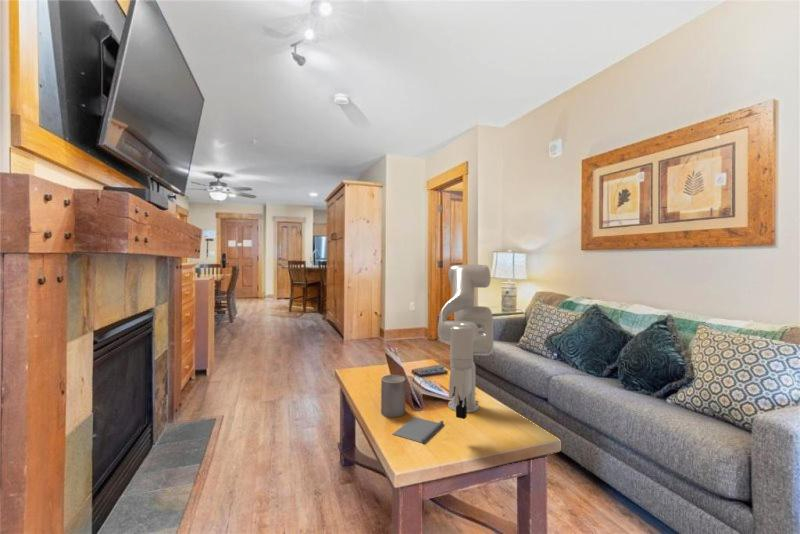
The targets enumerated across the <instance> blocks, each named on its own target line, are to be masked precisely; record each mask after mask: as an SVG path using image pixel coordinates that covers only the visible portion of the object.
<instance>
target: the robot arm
mask: <svg viewBox="0 0 800 534" xmlns="http://www.w3.org/2000/svg"><path fill="white" fill-rule="evenodd" d="M448 280H449V283H450V284H449V285H450V287H451V290H452V293H451V298H450V299H449V300H447V302H445V304H444V305H443V306H442V307H441V310H440V312H439V315H438V324H437V325H438V327H437V335H438V337H439V340H440V341H442V342H445V343H449V344H450V346H449V347H450V348H449V350H450V352H449V360H450V361H449V362H450V363H449V368H450V371H449V372H450V373H449V383H448V385H449V386H448V398H449V399H451V400H452V401H451V400H450V401H448V408H449V409H450V410H451V411H454V412H455V417H456V418H457V419H458V418H459V419H461V420H462V419H463V420H465V419H467V417H468V415H467V414H468V413H475V412H477V411H478V410H480V404H479V403H478V402H476V395H477V393H476V363H475V362H474V356H490V355H491V354H492V353H493V351H494V322H493V321H494V320H493V312H492V310H491V308H489V307H487V306H480V305H479V306H478V305H475V299H476V298H475V297H476V296H475V288H489V287H490V283H491V271H490V268H489V266H488V265H487V264H455V265H452V266H451V267H449V269H448ZM452 314H454V316H453V318H454V319H453V320H448V318H449V317H450V316H451V315H452ZM480 330H481V331H480Z"/></svg>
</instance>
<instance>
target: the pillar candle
mask: <svg viewBox="0 0 800 534" xmlns="http://www.w3.org/2000/svg"><path fill="white" fill-rule="evenodd" d="M380 387H381V388H380V389H381V390H380V391H381V392H380V393H381V394H380V395H381V398H380V399H381V401H380V402H381V403H380V410H381V411H380V412H381V415H382V416H384V417H387V418H399V417H402V416H404V415H405V414H406V377H405V376H404V375H399V374H387V375H384V376H382V377H381V386H380Z"/></svg>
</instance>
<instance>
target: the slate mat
mask: <svg viewBox="0 0 800 534" xmlns="http://www.w3.org/2000/svg"><path fill="white" fill-rule="evenodd" d="M444 426H445V424H444V420H440V421H439V422H437V421H433V420H429V419H424V418H422V417H421V418H420V417H417V416H414V417H412V418H411V419H410V420H408V421H407V422H405V424H402V426H401V427H399V428H398V429H397V430H396V431H394V432H393V433H392V436H396V437H399V438H403V439H407V440H410V441H413V442H416V443H419V444H424V445H426V444H427V442H429V441H430V440H431V439H432V438H433V437H434V436H435V435H436V434H437V433H438V432H439V431H440V430H441V429H442V428H443V427H444Z"/></svg>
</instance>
